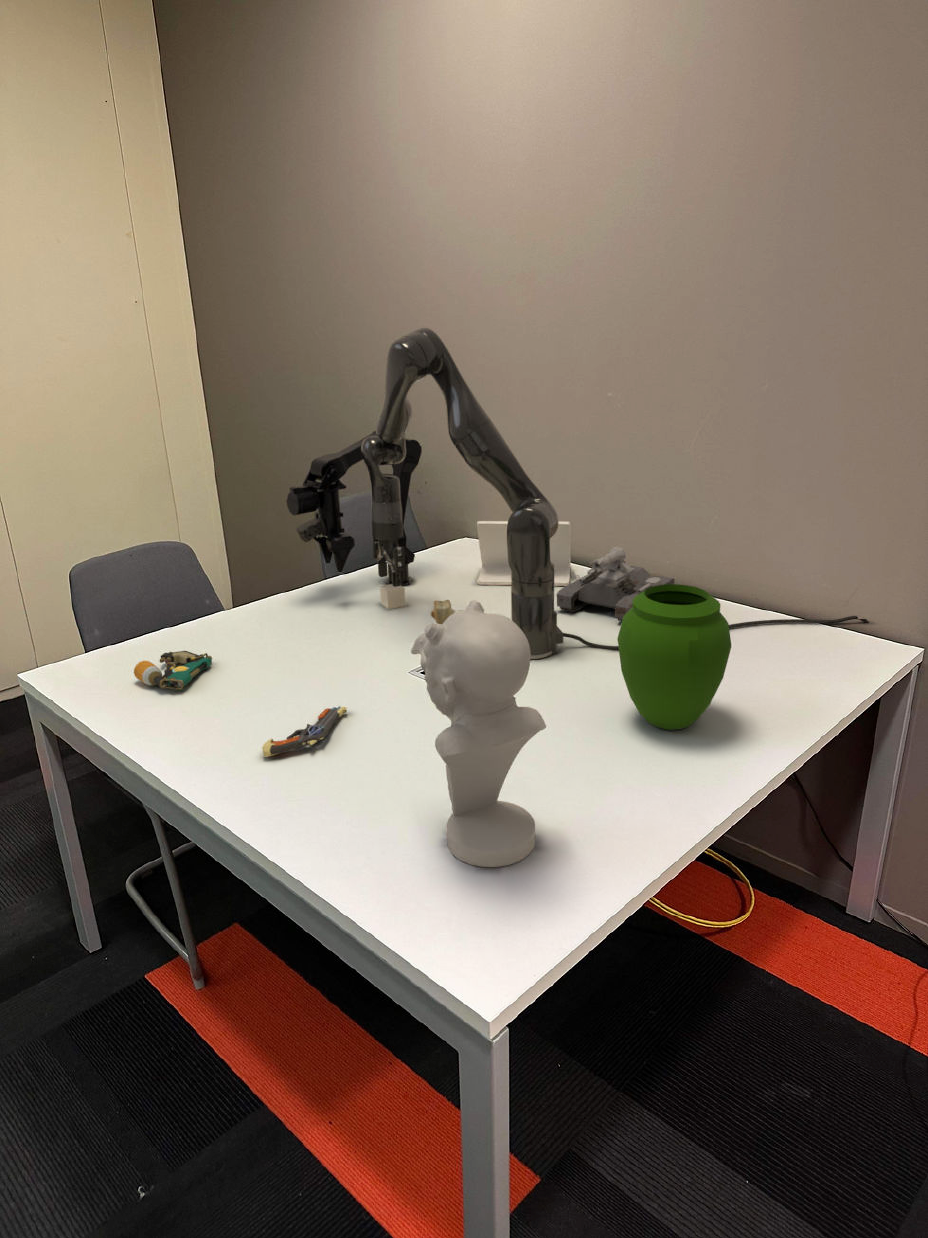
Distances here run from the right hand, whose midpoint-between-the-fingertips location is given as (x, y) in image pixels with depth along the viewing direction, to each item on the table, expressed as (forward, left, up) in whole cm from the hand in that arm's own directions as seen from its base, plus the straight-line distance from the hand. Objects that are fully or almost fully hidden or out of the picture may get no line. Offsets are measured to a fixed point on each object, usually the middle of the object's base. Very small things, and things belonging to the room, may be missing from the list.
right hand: (389, 581), depth 213 cm
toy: (-55, +13, -8) cm, 57 cm away
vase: (-42, +74, -8) cm, 85 cm away
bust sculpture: (0, +99, -8) cm, 99 cm away
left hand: (+13, -11, +1) cm, 18 cm away
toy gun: (+23, +63, -8) cm, 67 cm away
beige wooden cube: (-1, -3, -8) cm, 8 cm away
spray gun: (+49, +29, -8) cm, 58 cm away
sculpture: (-6, +41, -8) cm, 42 cm away
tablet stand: (-40, -17, -8) cm, 44 cm away
